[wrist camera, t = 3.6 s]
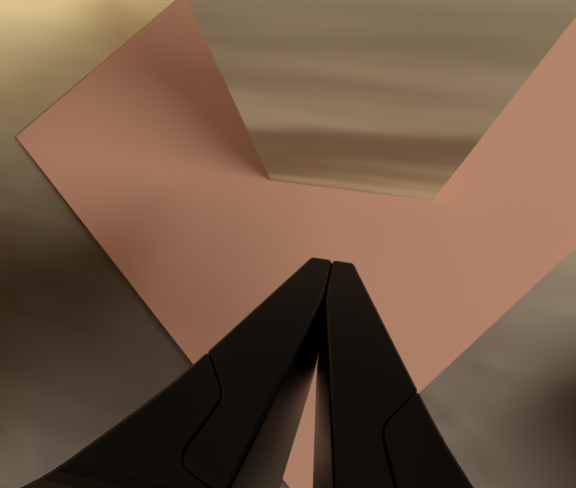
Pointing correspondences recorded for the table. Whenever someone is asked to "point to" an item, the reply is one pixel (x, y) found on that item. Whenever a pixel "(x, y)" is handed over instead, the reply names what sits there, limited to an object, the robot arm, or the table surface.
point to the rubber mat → (303, 206)
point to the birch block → (375, 82)
